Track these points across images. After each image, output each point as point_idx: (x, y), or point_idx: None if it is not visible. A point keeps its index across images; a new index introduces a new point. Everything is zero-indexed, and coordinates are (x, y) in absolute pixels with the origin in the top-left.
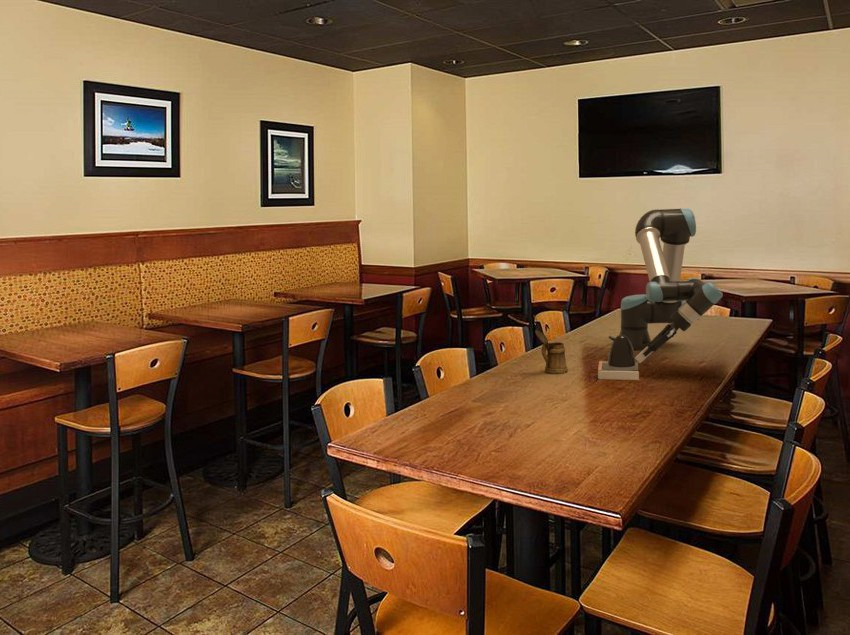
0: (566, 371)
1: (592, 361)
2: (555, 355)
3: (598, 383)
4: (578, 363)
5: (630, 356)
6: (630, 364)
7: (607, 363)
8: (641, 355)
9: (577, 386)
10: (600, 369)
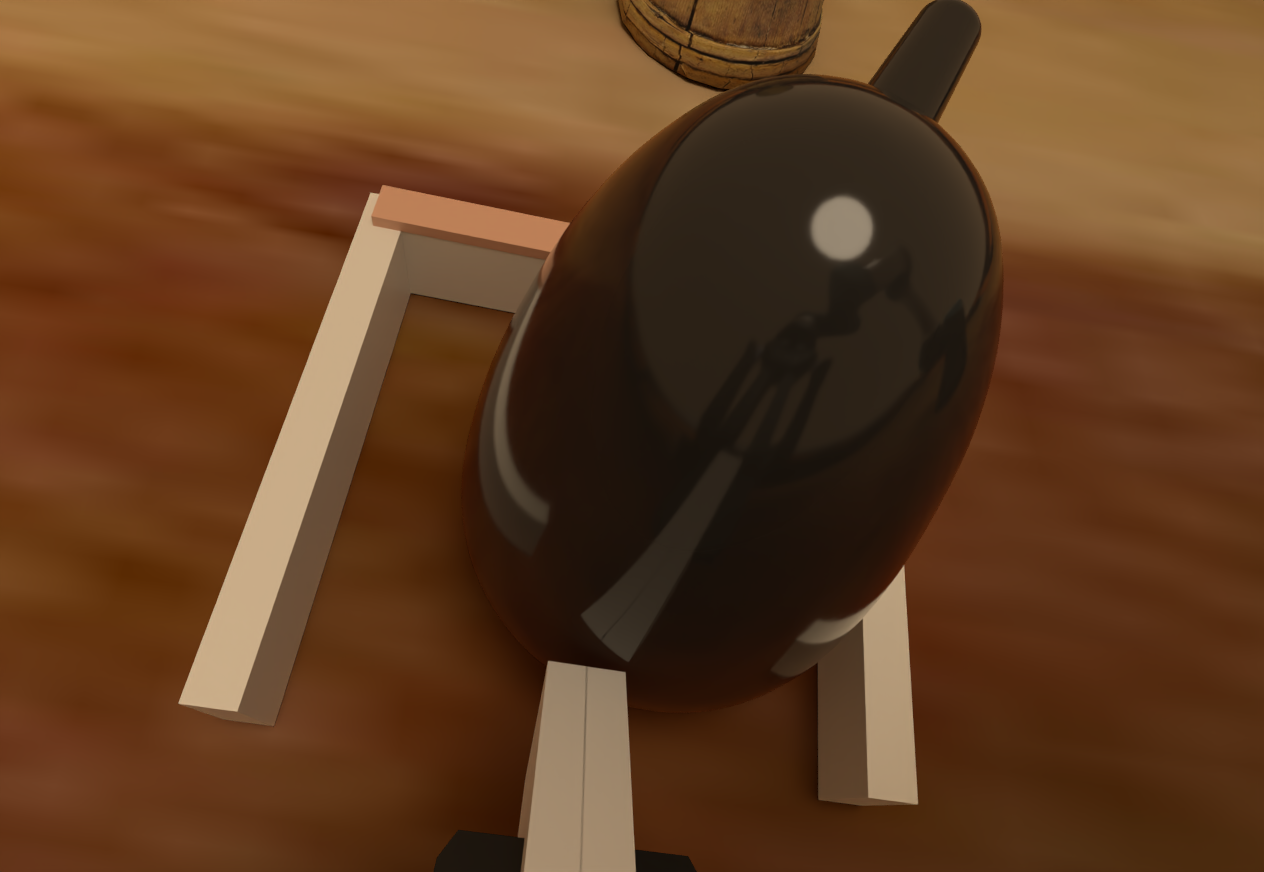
0: (681, 67)
1: (1173, 343)
2: None
3: (176, 228)
4: (1052, 218)
5: (513, 552)
6: (487, 591)
7: None
8: (527, 801)
9: (106, 50)
10: (401, 212)
